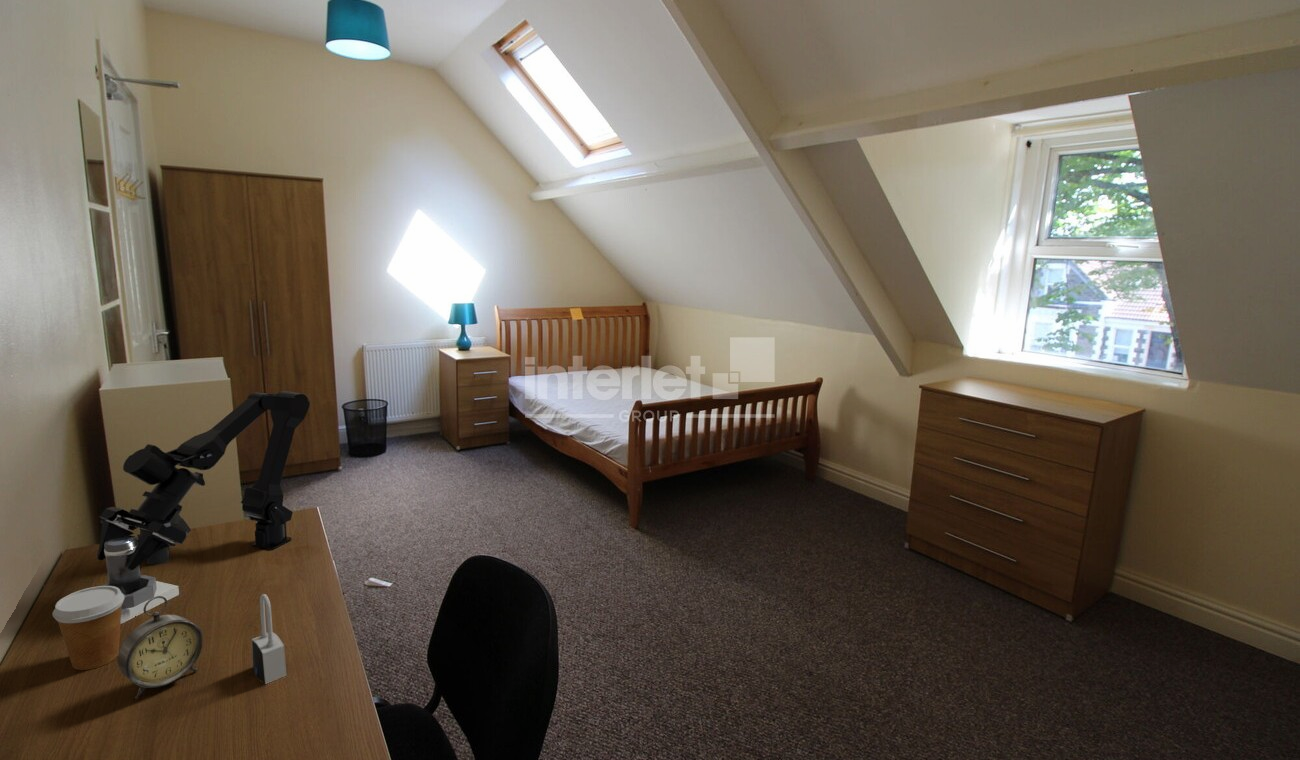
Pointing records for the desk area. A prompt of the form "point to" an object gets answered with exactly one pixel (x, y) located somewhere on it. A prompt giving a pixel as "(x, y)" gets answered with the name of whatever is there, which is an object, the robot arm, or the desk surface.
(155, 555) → the scope
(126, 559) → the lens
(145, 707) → the desk surface
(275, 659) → the padlock
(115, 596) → the disposable coffee cup
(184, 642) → the alarm clock
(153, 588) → the octagonal ring on plate
